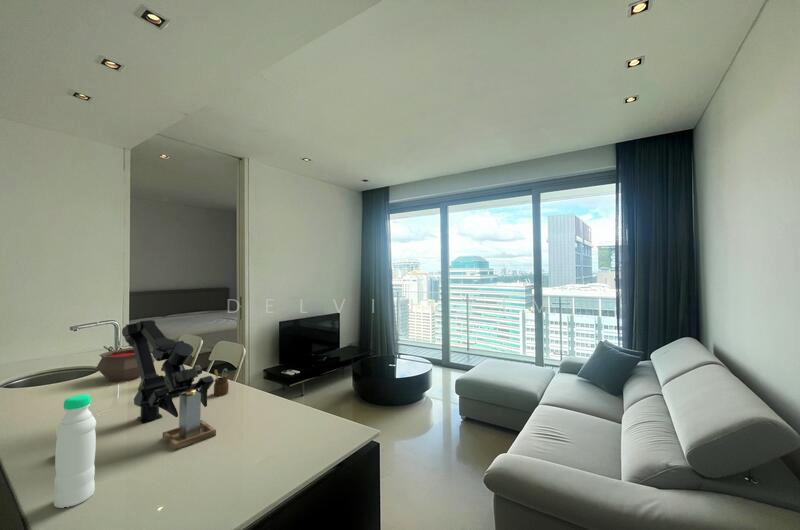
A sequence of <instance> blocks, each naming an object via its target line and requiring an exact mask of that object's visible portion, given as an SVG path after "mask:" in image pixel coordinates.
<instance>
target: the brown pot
mask: <svg viewBox="0 0 800 530" xmlns="http://www.w3.org/2000/svg"><path fill="white" fill-rule="evenodd" d="M149 349H150V352H151V353H152V352H153V348H151V347H149ZM99 356H100V357H101V359H100V360H99V362H98V364H97V366H96V367H95V368H96V370H97V371H98V372H99V373H101V375H103V376H104V378H106V379H107V380H108V381H109V382H110V383H119V382H128V381H133V380H137V379H139V378H141V376H140V372H139V369H138V365H137V361H136V357H135V353H134V349H133V347H126V348H120V349H115V350H114V347H113V346H109V347H108V349H107V351H106V352H104V353H101V354H99ZM151 356H152V359H153V363H154V362H155V361H156V360H155V359H154V357H153V354H151Z"/></svg>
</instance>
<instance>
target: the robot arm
mask: <svg viewBox="0 0 800 530" xmlns="http://www.w3.org/2000/svg"><path fill="white" fill-rule="evenodd" d="M121 334H122V337H124V340H125V342H126V343H127V344H129V345H130V346H131V347H132V348H133V349H134V353H135V357H136V361H137V365H138V369H139V372H140V376H141V377H140V379H141V381H140V383H139V385H138V387H137V390H138V391H137V393H136V394H135V396H134V398H133V403H134V405H135V406H137V407H140V412H139V413H140V414H139V415H140V416H137V418H136V419H137V420H138V421H139V422H140V423H141V424H143V423H148V422H150V421H154V420H157V419H161V418H163V415H162V414H161V413H160V409H162V410H164V411H166V412H167V413H168V414H170V415H172V416H173V417H175V418H179V411H178V410H177V407H176V406H175V403H174V401H173V397H172V396H178V395H177V394H179V395H180V393H181V394H184V393H185V391H186V390H190V389H196V391H197V392H200V393H201V405H202V406H203V407H204V408H207V407H208V390H209V389H210V388H211V387H212V385H213V384H214V383H215V379H214V378H213V376H211V375H208V376H203V377H200V378H199V380H198V381H197V382H196V383H195V382H194V381H195V378H198V377H199V375H201V374H203V368H202V367H201V365H200V364H197V365H195V366H192V368H188V369H187V368H186V367H185V364H186V363H187V362H188V360H189V358H190V357H191V355H192V354H193V352H194V347H193V345H191V344H190V343H187V342H184V340H177V341H175V340H173V339H170V338H167V337H166V336H165V335H164V334H163V332H162V331H161V329H160V328H159V327H158V326H157V325H156V321H155V320H153V319H148V320H147V319H146V320H140V321H137V322H134V323H128V324H125V326H124V327H123V328H122V329H121ZM149 344H150V345H151V347H152V349H153V350H152V351H151V352H150V349H151V348H150V345H149ZM149 348H150V349H149ZM151 355H152V356H153V358H154V360H155V361H157V362H162V361H164V362H163V364H162V365H161V367H160V368H161V370H160V372H164V375H165V374H166V377H167V379H168V381H167V385H168V384H170V387H171V389H172V390H170V391H169V389H168V387H167V385H166V383H165V380H164V377H163V376H164V375H163V374H160V375H159V374H157V371H156V367H155V364H154V362H153V359H152V356H151ZM191 383H192V384H191ZM183 392H184V393H183Z"/></svg>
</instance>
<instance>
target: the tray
mask: <svg viewBox="0 0 800 530" xmlns="http://www.w3.org/2000/svg"><path fill="white" fill-rule="evenodd" d="M216 436H217V429H215V428H214V427H213V426H211V425H210V424H208V422H206V421H204V420H203V419H200V434H199V435H196V436H193V437H190V438H188V439H183V438H181V437H179V426H178V427H175V428H173V429H170V430H166V431H164V432H162V438H163V439H164V440H165V441H164V440H163V441H164V442H165V443H166V444H168V445H169V446H170V448H171V449H172V450H173V451H175V452H176V451H178V450H182V449H183V448H187V447H189V446H192V445H194V444H198V443H200V442H203V441H205V440H208V439H210V438H213V437H216Z"/></svg>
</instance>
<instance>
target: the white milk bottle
mask: <svg viewBox="0 0 800 530" xmlns="http://www.w3.org/2000/svg"><path fill="white" fill-rule="evenodd" d="M91 401H92V397H91V395H90V394H88V393H87V394H85V393H84V394H77V395H72V396H70V397H68V398H66V399H64V401H63V409H64V411H65V412H66V413H65V415H64V416H63V418H62V419H61V422H59V425H58V426H57V428H56V430H55V436H56V443H55V452H54V453H55V455H54V456H55V458H54V459H55V460H54V463H55V464H54V465H55V466H54V467H55V469H54V470H55V478H54V495H53V496H54V497H53V505H54V507H55V508H59V509H65V508H64V507H67V508H71V507H74V506H77V505H79V504H81V503H84V502H85V501H86V500H88V499H89V498H90V497H91V496H93V494H94V493H95V488H96V487H95V473H96V467H95V458H96V448H97V447H96V446H97V444H96V442H97V441H96V440H97V439H96V427H97V420H96V418H95V417H94V415H93V413H92V412H91V410H89V407H90V405H91ZM70 506H71V507H70Z"/></svg>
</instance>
